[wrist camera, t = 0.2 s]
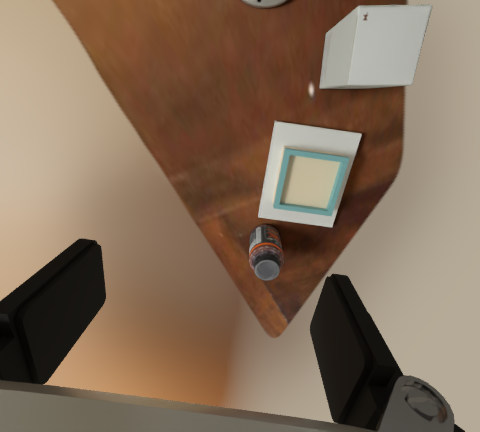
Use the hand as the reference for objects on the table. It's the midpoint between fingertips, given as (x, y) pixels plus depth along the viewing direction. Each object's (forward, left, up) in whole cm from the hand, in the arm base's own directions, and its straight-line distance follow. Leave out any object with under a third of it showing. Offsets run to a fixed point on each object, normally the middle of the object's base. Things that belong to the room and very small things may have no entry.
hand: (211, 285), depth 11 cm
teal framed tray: (+4, +12, -36) cm, 38 cm away
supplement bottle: (+17, +7, -37) cm, 41 cm away
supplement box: (-14, +14, -37) cm, 42 cm away
